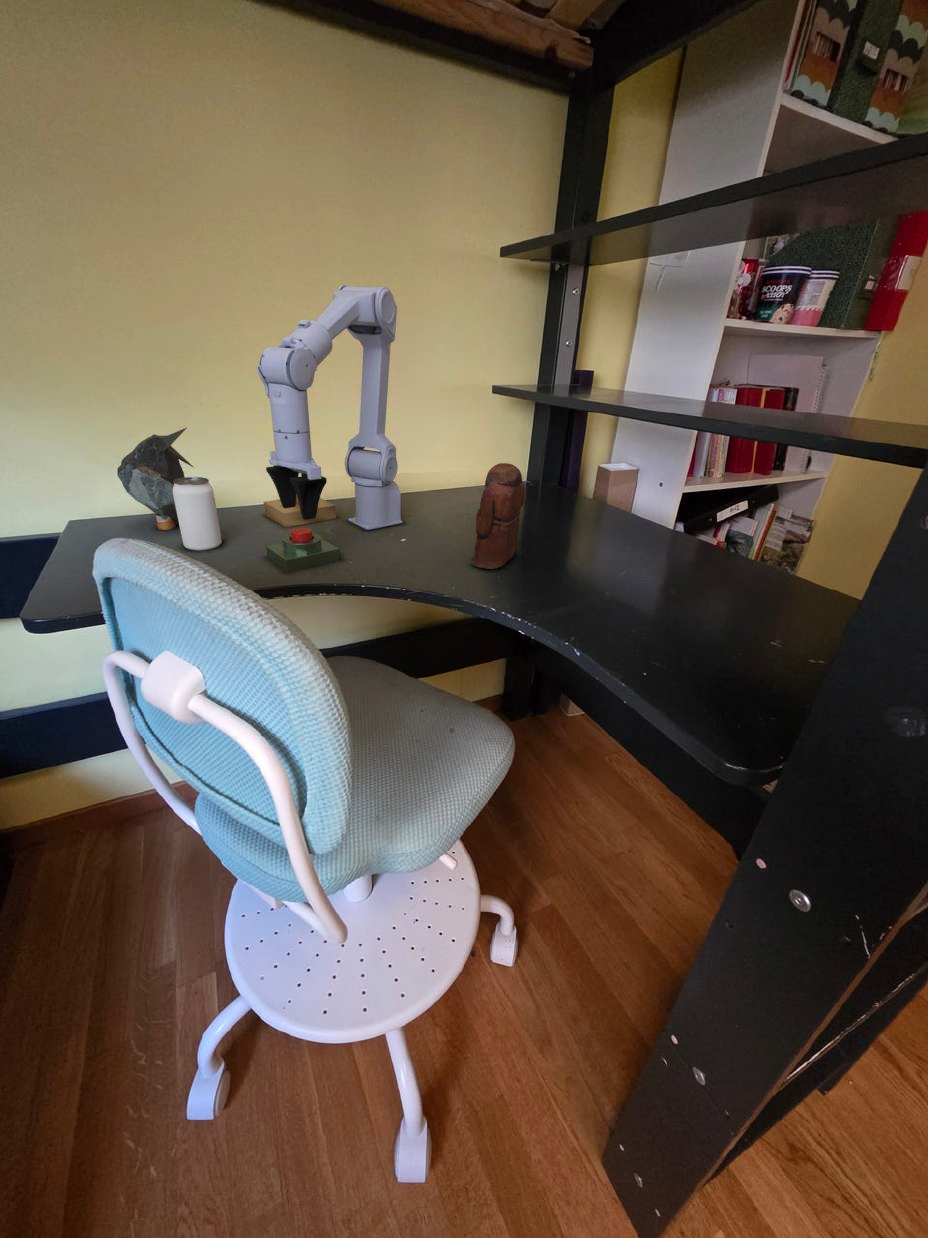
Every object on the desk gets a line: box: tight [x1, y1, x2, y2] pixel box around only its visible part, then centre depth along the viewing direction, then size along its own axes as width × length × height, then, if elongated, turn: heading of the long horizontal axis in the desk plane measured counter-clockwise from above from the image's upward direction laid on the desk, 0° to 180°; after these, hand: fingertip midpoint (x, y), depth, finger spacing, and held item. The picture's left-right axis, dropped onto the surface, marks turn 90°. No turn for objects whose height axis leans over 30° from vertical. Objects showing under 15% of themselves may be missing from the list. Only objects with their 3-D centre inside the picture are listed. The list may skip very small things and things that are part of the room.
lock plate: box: [263, 497, 337, 528], centre depth 113 cm, size 12×10×3 cm
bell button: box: [289, 527, 313, 542], centre depth 90 cm, size 4×4×2 cm
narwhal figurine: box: [117, 427, 194, 531], centre depth 101 cm, size 14×15×18 cm
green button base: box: [265, 532, 340, 573], centre depth 92 cm, size 10×8×4 cm
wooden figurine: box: [472, 462, 526, 570], centre depth 94 cm, size 12×6×18 cm, turn 156°
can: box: [173, 476, 223, 552], centre depth 92 cm, size 6×6×12 cm
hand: (299, 512), depth 89 cm, fingers open, 7 cm apart
